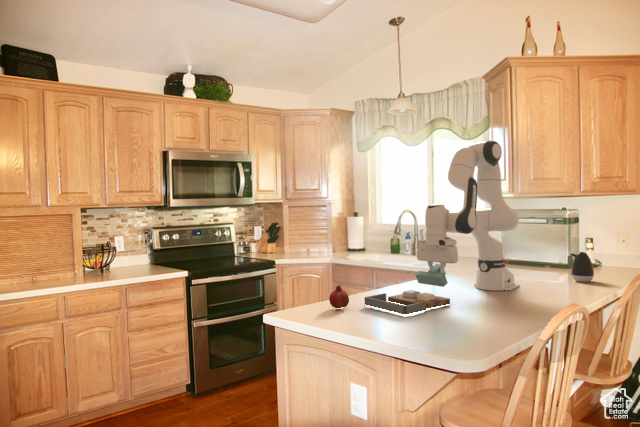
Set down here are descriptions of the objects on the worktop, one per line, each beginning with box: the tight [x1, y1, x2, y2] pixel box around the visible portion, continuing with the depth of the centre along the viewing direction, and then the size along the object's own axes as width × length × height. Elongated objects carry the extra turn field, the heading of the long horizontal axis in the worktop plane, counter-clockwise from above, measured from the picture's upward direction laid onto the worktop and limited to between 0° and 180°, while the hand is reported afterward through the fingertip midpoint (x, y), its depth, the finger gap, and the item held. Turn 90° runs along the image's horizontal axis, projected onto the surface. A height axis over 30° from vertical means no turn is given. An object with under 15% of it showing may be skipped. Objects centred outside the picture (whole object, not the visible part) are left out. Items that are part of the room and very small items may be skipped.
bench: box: [387, 292, 451, 308], centre depth 187 cm, size 16×20×3 cm
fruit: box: [328, 285, 350, 309], centre depth 183 cm, size 8×8×10 cm
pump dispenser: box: [569, 251, 595, 283], centre depth 226 cm, size 10×10×15 cm
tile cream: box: [417, 292, 435, 301], centre depth 184 cm, size 5×5×2 cm
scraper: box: [415, 263, 449, 288], centre depth 193 cm, size 9×14×5 cm, turn 35°
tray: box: [364, 292, 426, 314], centre depth 179 cm, size 12×23×4 cm, turn 35°
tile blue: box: [402, 289, 421, 298], centre depth 190 cm, size 5×5×2 cm
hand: (436, 272), depth 194 cm, fingers closed on scraper, 3 cm apart
